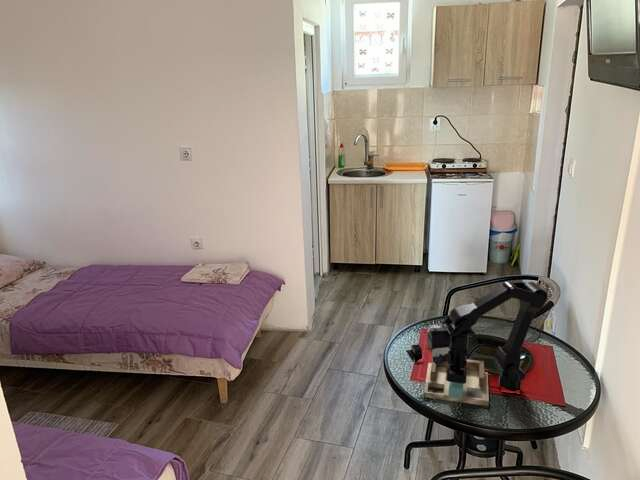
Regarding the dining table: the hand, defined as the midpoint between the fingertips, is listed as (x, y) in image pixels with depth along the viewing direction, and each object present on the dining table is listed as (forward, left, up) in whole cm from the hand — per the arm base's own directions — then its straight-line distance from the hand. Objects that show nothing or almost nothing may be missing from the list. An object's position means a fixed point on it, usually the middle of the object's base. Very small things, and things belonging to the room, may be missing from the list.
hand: (455, 383), depth 171 cm
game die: (+9, -32, -4) cm, 33 cm away
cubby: (0, -8, -2) cm, 8 cm away
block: (0, +3, -1) cm, 3 cm away
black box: (+15, -20, -4) cm, 26 cm away
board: (0, -4, -4) cm, 6 cm away
